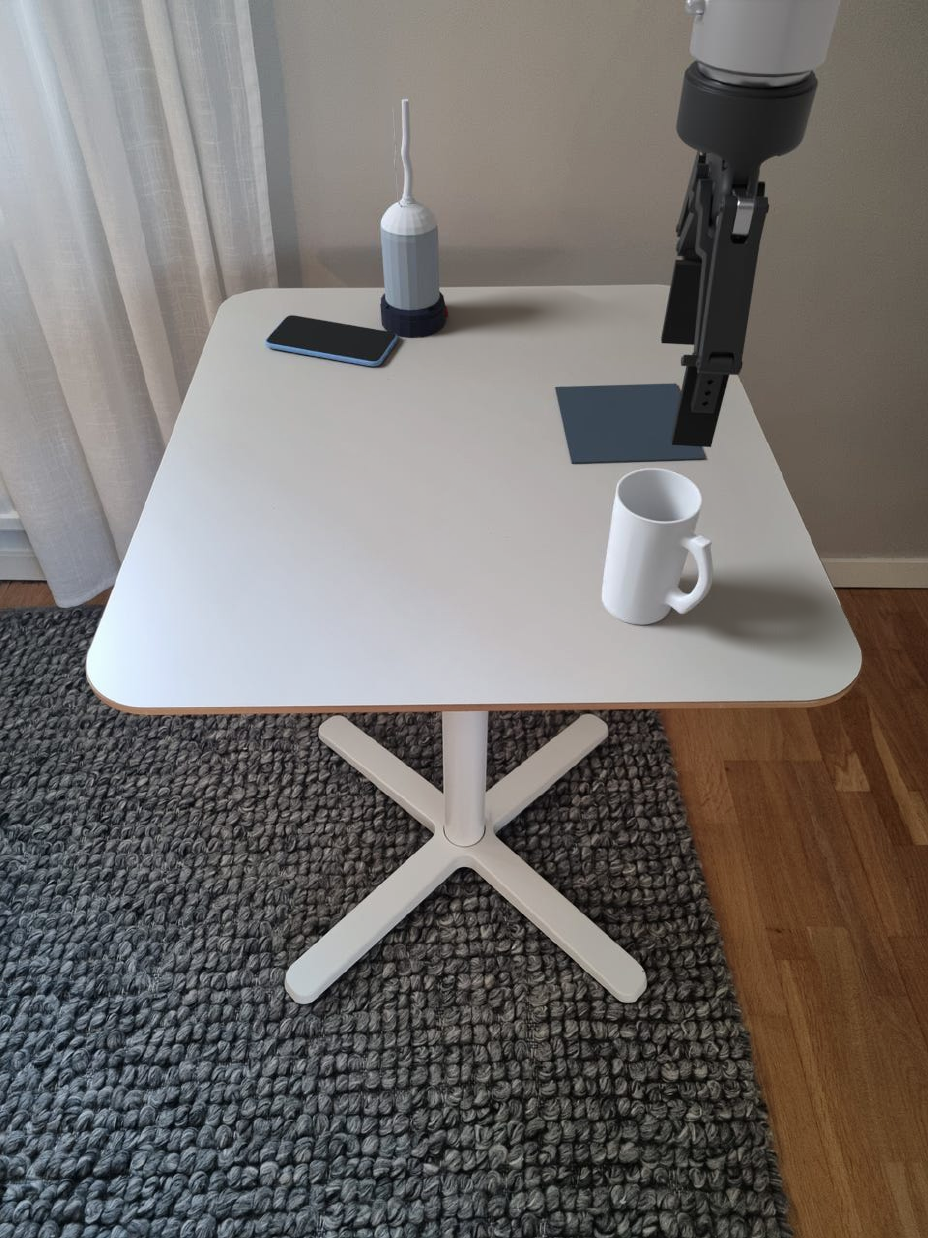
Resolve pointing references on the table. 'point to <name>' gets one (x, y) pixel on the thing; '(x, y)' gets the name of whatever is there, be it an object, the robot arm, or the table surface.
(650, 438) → the mat
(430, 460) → the table surface
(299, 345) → the smartphone
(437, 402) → the table surface
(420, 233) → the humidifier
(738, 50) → the robot arm
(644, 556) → the mug
